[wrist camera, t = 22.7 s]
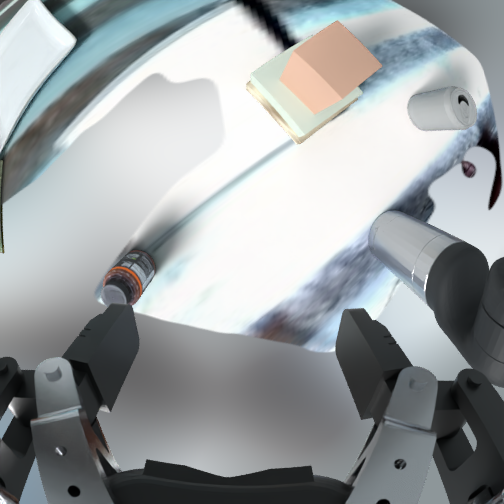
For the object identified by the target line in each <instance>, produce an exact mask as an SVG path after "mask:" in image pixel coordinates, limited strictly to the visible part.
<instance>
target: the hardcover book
mask: <svg viewBox="0 0 504 504" xmlns="http://www.w3.org/2000/svg"><path fill="white" fill-rule="evenodd" d="M2 165H3V160H0V200H1V177H2ZM0 253H3V254H4V239H3V204H2V205H1V206H0Z"/></svg>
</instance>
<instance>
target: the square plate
mask: <svg viewBox="0 0 504 504" xmlns="http://www.w3.org/2000/svg"><path fill="white" fill-rule="evenodd" d="M76 41H77V39H76V38H75V36H74V35H73V34H72V33H71V32H70V31H69V30H68V29H67V28H66V27H64V26H63V25H62V24H61V23H60V22H59V21H58V20H57V19H56V18H55V17H54V16H53V15H52V14H51V13H50V11H49V10H48V9H47V8H46V7H45V5H44V4H43V3H42V1H41V0H28V1H27V2H26V3H25V4H24V6H23V7H22V8H21V9H20V10H19V11H18V12H17V14H16V15H15V16H14V17H13V18H12V20H11V21H10V22H9V23H8V25H7V26H6V27H5V28H4V30H3V31H2V33H1V34H0V153H1V151H2V149H3V148H4V146H5V144H6V142H7V141H8V139H9V137H10V135H11V134H12V132H13V130H14V128H15V126H16V125H17V123H18V121H19V119H20V118H21V116H22V114H23V113H24V111H25V109H26V108H27V106H28V105H29V103H30V101H31V100H32V98H33V97H34V96H35V94H36V93H37V91H38V90H39V89H40V87H41V86H42V85H43V83H44V82H45V81H46V80H47V78H48V77H49V76H50V75H51V74H52V72H53V71H54V70H55V69H56V68H57V67H58V66H59V64H60V63H61V62H62V61H63V60H64V58H65V57H66V56H67V55H68V54H69V53H70V52H71V50H72V49H73V48H74V46H75V44H76Z"/></svg>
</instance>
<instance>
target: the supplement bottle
mask: <svg viewBox="0 0 504 504" xmlns="http://www.w3.org/2000/svg"><path fill="white" fill-rule="evenodd" d="M154 275H155V263H154V261H153V259H152V258H151V257H150V256H149V255H148V254H147V253H145V252H143V251H140V250H134V251H131V252H129V253H128V254H127V255H125V256H124V257H123V258H122V259H121V260H120V261H119V262H118V263H117V264H116V265H115V266H114V267H113V268H112V269H111V270H110V271H109V272H108V273H107V274H106V276H105V277H104V281H103V288H102V290H101V298H102V301H103V302H104V304H105V305H106V306H107V307H109V305H110V304H111V303H122V304H130V305H131V306H132V305H134V304H135V303H136V302H137V301H138V299H139V298H140V297H141V295H142V294H143V292H144V291H145V289H146V288H147V286H148V285H149V283H150V282H151V280H152V279H153V277H154Z"/></svg>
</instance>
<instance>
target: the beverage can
mask: <svg viewBox="0 0 504 504" xmlns="http://www.w3.org/2000/svg"><path fill="white" fill-rule="evenodd" d="M407 109H408V115H409V117H410V120H411V121H412V123H413V124H414V125H415V126H416V127H417V128H418V129H420V130H423V131H434V130H466V129H468V128H469V127H472V126H473V125H474V124H475V122H476V119H477V109H476V105H475V102H474V100H473V98H472V97H471V95H470V94H469V93H468V92H467V91H466V90H464V89H462V88H458V87H453V86H452V87H447V88H443V89H438V90H434V91H430V92H426V93H422V94H418V95H414V96H413V97H411V98H410V100H409V102H408V108H407Z"/></svg>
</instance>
